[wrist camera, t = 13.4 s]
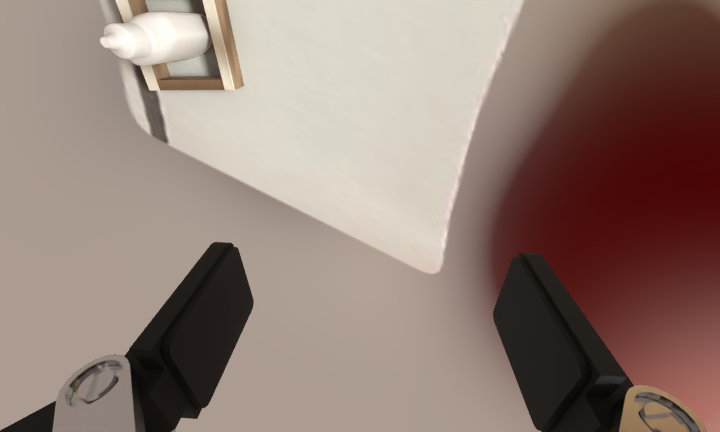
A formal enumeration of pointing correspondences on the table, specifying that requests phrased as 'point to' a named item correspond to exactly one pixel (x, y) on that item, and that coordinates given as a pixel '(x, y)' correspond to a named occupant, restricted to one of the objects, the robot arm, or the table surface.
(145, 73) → the walnut collar
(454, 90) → the table surface
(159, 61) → the eye dropper bottle
